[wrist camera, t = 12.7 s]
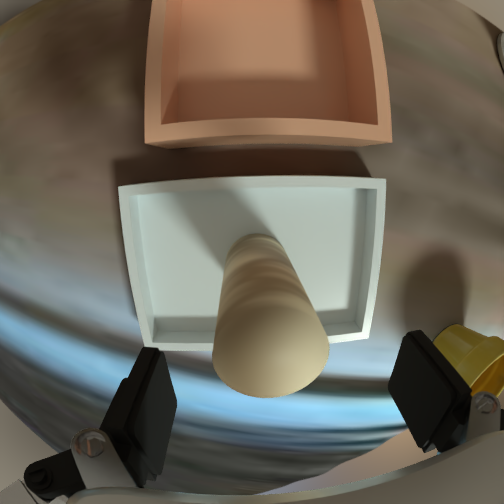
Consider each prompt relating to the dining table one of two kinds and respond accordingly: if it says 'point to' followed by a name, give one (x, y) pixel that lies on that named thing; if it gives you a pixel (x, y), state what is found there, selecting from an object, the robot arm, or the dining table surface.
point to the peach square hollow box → (265, 73)
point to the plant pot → (474, 357)
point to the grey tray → (241, 224)
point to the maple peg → (266, 323)
